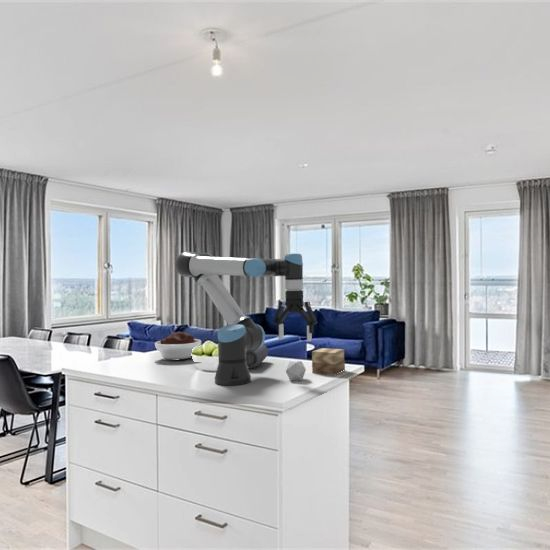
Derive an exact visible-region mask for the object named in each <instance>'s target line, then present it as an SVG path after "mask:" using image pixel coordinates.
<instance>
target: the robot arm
mask: <svg viewBox="0 0 550 550" xmlns="http://www.w3.org/2000/svg"><path fill="white" fill-rule="evenodd" d="M303 265H304V263H303V256H302V254H301V253H285V254H284V258H258V257H253V258H251V257H250V258H248V257H225V256H224V257H223V256H221V257H220V256H213V255H212V254H211V253H208V252H205V251H204V252H203V251H201V252H200V251H199V252H196V251H184V252H182V253H180V254H178V256H177V257H176V258H175V261H174V268H175V270H176V272H177V273H178V275H180V276H181V277H184V278H192V279H193V280H194V281H195V283H196V284H197V285H198V286H202V287H203V289H204V290H205V293H207V295H208V296H209V298H210V299H211V301H212V302H213V304H214V306H215V307H216V309H217V310H218V312H219V313H220V315H221V316H222V318H223V319H224V321H225V323H226V324H227V325H224V326H221V327H220V328H218V332H217V349H218V364H217V368H216V372H215V376H214V383H215V384H216V385H222V386H240V385H245V384H248V383H250V382H252V375H251V373H250V370H249V368H248V366H247V363H246V353H248V352H252V351H256V350H257V349H259V348H261V347H262V345H263V344H264V343H265V341H266V332H265V331H264V328H263V326H261V325H259V324H258V323H255V322H254V321H253V319H252V318H251V317H250V316H246V315H245V313H244V311H242V309H241V308H240V306H239V305H238V303H237V302H236V300H235V299H234V297H233V296H232V294H231V293H230V291H229V290H228V288H227V287H226V286H225V284H224V283H223V280H222V279H221V278H220V277H219V276H220V275H221V276H235V277H236V276H239V277H252V278H260V277H261V278H262V277H265V278H269V277H270V278H271V277H284V282H285V283H284V285H285V287H284V289H285V293H284V294H285V301H284V300H282V301H279V303H278V308H277V310H276V313H275V315H274V317H273V320H272V322H273V324H274V323H275V324H276V325H277V332H278V340H279V341H281V340H284V339H285V338H284V337H285V336H284V334H285V333H284V331H285V329H284V323H283V322H284V320H286V318H287V316H288V315H289V314H290V313H299V314H300V316H301V317H302V318H303V319H304V321H305V322H306V324H307V325H306V342H309V343H310V342H312V338H313V337H312V335H313V333H314V325H317V324H318V320H317V317H316V316H315V313H314V311H313V309H312V307H311V302H310V301H309V300H308V301H305V302H304V290H302V289H304V280H303V279H304V278H303V277H304V276H303V275H304V273H303V272H304V271H303ZM285 307H286V308H285ZM304 307H305V309H304ZM284 309H285V310H284ZM264 345H265V344H264Z"/></svg>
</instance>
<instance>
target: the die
mask: <svg viewBox="0 0 550 550" xmlns="http://www.w3.org/2000/svg"><path fill="white" fill-rule="evenodd" d="M306 370H307V369H306V367H305V365H304V364H303V361H302V360H292V361H291V360H289V362H288V364H287V367H286V369H285V373H286V375H287V377H288V379H289V381H290V382H291V381H292V382H293V381H303V379H304V376H305V373H306Z"/></svg>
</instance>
